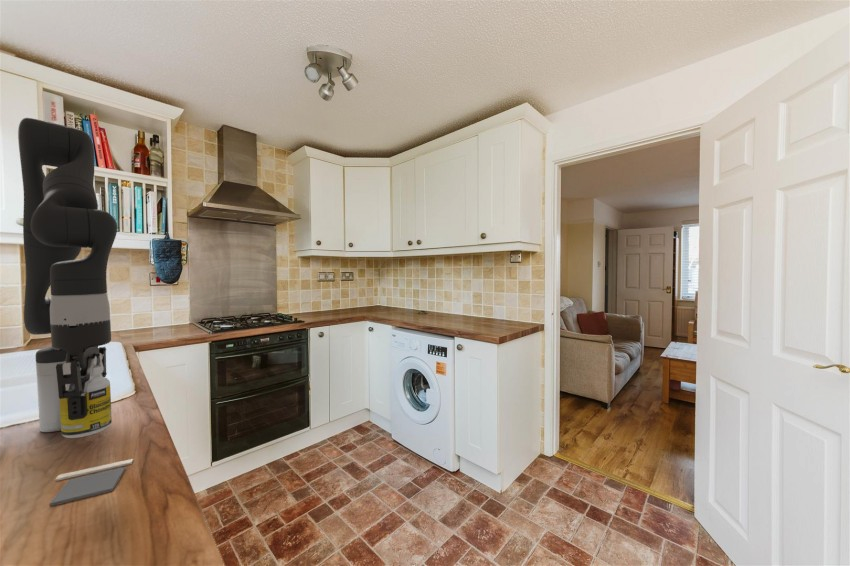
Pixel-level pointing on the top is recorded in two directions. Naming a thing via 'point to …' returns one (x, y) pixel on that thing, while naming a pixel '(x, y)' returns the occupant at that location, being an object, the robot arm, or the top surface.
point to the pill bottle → (89, 409)
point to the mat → (88, 486)
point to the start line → (94, 469)
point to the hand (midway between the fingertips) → (86, 410)
